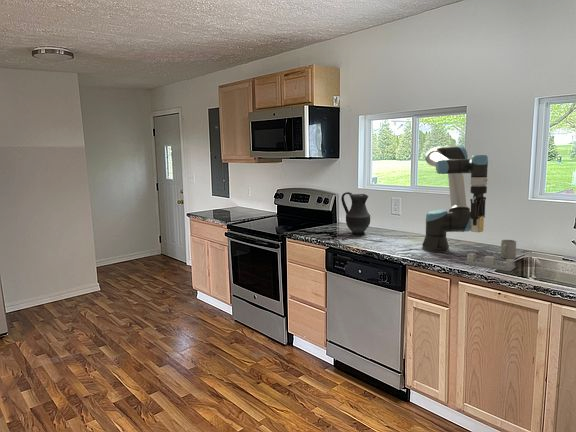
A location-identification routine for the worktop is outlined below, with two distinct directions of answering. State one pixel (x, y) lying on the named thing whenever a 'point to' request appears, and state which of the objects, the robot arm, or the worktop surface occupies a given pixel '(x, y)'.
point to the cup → (508, 249)
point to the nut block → (479, 223)
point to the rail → (490, 262)
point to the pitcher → (357, 214)
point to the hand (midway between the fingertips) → (477, 230)
